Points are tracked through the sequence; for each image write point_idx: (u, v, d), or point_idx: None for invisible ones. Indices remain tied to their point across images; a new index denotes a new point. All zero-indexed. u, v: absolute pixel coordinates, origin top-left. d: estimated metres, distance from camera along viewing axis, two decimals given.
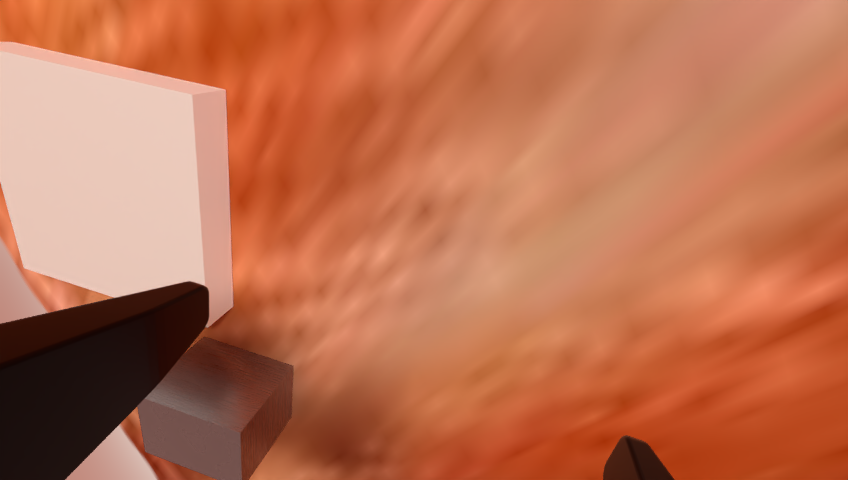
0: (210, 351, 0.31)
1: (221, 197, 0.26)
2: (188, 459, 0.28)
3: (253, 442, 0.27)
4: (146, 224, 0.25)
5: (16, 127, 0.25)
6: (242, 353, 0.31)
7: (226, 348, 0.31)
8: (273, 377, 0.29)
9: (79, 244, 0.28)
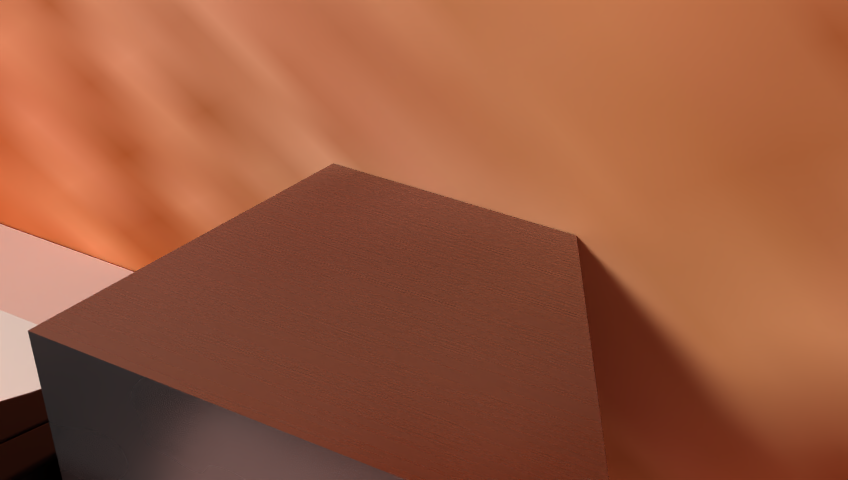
0: None
1: None
2: None
3: (331, 332, 0.05)
4: None
5: None
6: None
7: None
8: None
9: None
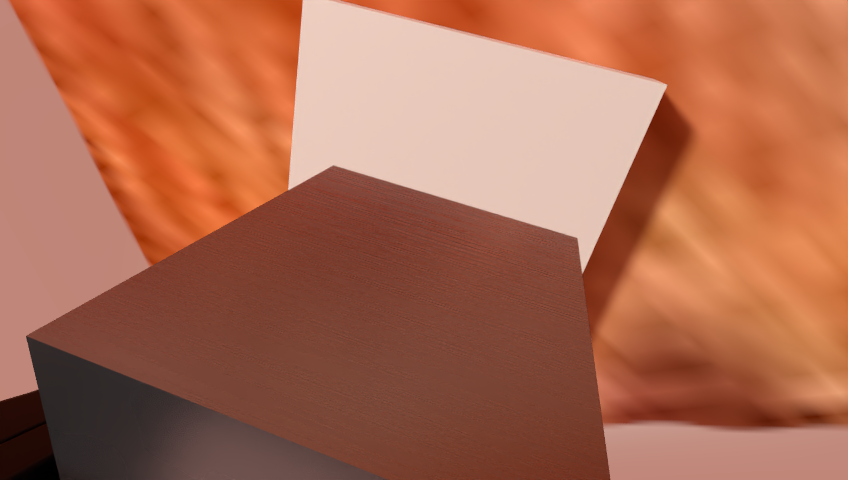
0: None
1: (456, 30, 0.18)
2: None
3: (332, 337, 0.05)
4: (471, 137, 0.18)
5: None
6: None
7: None
8: None
9: None
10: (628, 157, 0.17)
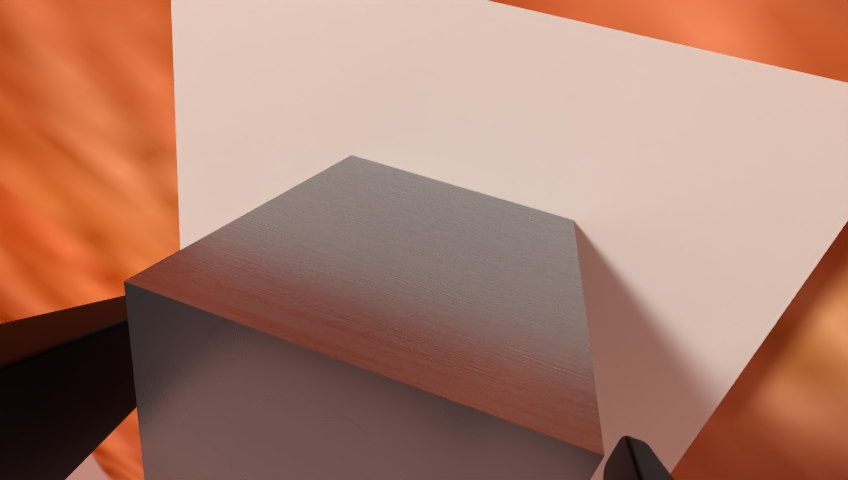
0: None
1: None
2: None
3: (365, 290, 0.05)
4: None
5: None
6: None
7: None
8: None
9: None
10: (816, 246, 0.08)
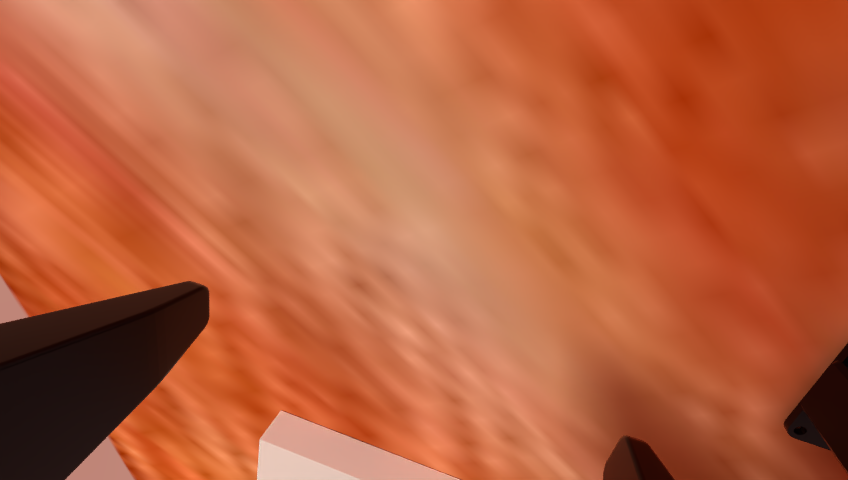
0: None
1: (357, 450, 0.29)
2: None
3: None
4: None
5: None
6: None
7: None
8: None
9: None
10: None
